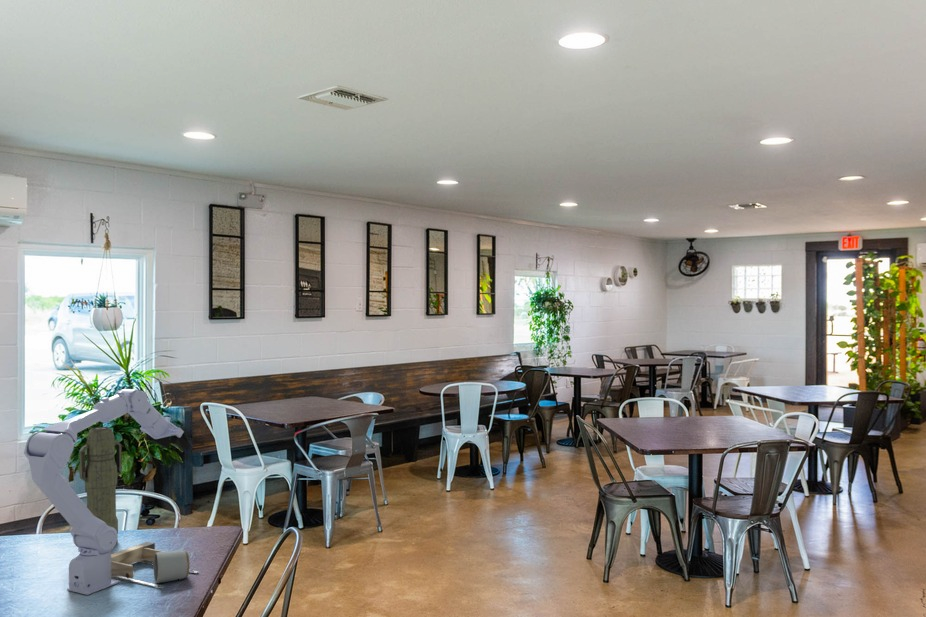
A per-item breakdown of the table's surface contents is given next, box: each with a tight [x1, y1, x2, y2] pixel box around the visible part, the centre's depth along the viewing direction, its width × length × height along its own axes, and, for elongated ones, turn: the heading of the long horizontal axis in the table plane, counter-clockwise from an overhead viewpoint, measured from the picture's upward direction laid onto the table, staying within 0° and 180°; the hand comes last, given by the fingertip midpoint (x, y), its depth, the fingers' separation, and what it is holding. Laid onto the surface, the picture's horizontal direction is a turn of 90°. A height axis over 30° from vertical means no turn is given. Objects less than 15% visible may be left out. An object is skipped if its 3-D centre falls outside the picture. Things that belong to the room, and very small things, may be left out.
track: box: [111, 560, 199, 589], centre depth 203 cm, size 13×23×1 cm, turn 63°
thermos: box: [78, 426, 123, 544], centre depth 230 cm, size 9×12×35 cm
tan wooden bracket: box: [111, 541, 166, 579], centre depth 207 cm, size 15×12×4 cm
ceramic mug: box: [153, 549, 191, 584], centre depth 200 cm, size 11×8×8 cm
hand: (178, 446), depth 220 cm, fingers open, 7 cm apart
